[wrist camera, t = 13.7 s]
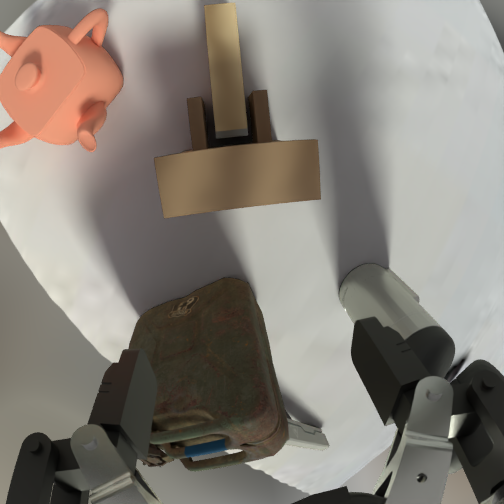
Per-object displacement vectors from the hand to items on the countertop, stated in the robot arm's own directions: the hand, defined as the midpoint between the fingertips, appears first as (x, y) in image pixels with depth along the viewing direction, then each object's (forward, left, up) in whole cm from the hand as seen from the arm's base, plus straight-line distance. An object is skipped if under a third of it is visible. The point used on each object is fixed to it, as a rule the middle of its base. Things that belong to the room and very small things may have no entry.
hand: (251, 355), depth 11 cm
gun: (-8, +50, -30) cm, 59 cm away
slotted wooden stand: (-1, -7, -30) cm, 31 cm away
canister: (+7, +18, -30) cm, 36 cm away
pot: (+20, -18, -30) cm, 41 cm away
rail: (-1, -16, -30) cm, 34 cm away
